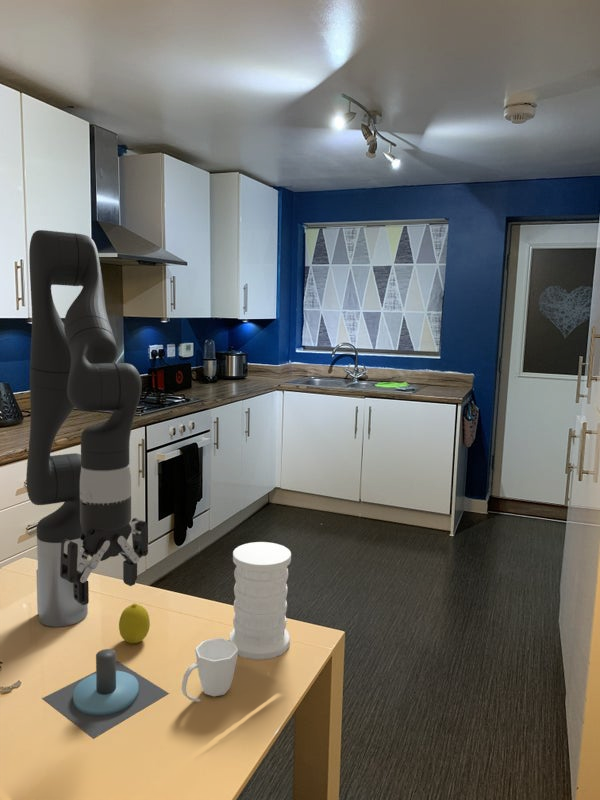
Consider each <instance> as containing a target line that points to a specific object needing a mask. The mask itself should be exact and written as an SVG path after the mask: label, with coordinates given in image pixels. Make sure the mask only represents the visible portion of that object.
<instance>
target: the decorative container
mask: <svg viewBox="0 0 600 800" xmlns="http://www.w3.org/2000/svg"><path fill="white" fill-rule="evenodd" d="M232 562H233V563H234V565H235V569H234V572H233V575H234V579H235V584H234V587H233V593H234V601H233V610H234V616H233V618H232V624H233V629H232V630H230V633H229V635H228V636H229V637H228V640H229V641H233V642H234V643H235V645H236V647H237V649H238V654H237V656H238V657H239V656H240V657H241V658H246V659H247V660H248V659H249V660H255V661H256V660H257V661H259V660H260V661H261V660H269V659H274V658H278V657H279V656H281V655H282V654H283V655H284V653H286V651H288V649H289V648H290V643H291V642H290V641H291V635H290V633H289V632H288V630H287V629H286V626H287V624H288V623H287V622H288V621H287V617H286V613H287V611H288V602H287V595H288V590H289V589H288V584H287V581H288V579H289V568H288V566H289V565H290V564H291V562H292V552H291V550H290V549H289V548H288V547H286V546H284V545H283V544H279V543H275V542H267V541H256V542H248V543H244V544H241V545H238V546H237V547H236V548H234V550H233V551H232Z"/></svg>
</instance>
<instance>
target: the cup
mask: <svg viewBox="0 0 600 800" xmlns="http://www.w3.org/2000/svg"><path fill="white" fill-rule="evenodd" d="M194 651H195V657H196V658H195V659H196V662H194V663H192V664H191V665H190V666H188V668H187V669H186V670H185V672H184V674H183V678H182V682H181V691H182V695H183V696H184V697H186V698H187V699H188V700H189V701H191V702H192V701H193V702H195V703H199V702H201V701H202V699H200V698H198V697H193V696H190V695H189V694H188V693H187V685H188V680H189V677H190V675H191V673H192V672H193V671H194V670H195V669H197V671H198V677H199V681H200V685H201V688H202V690H203V693H204V695H208V696H210V697H211V696H212V697H218V696H223V695H225V694H226V693H227V692H228V690H229V689H230V688H231V686H232V682H233V679H234V676H235V669H236V664H237V658H238V655H237V654H238V649H237V647H236V645H235V643H234V642H233V641H229V639H227V638H226V639H225V638H222V637H221V638H220V637H217V638H216V637H215V638H209V639H205V640H202V642H201V643H199V644H198V645H197V646H196V647H195V650H194Z"/></svg>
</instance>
